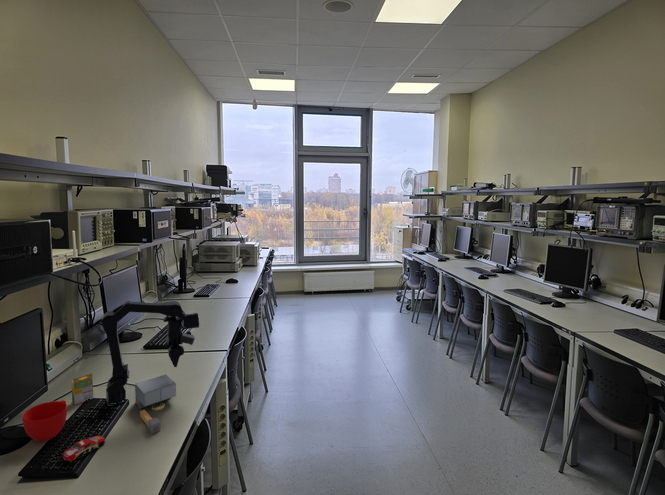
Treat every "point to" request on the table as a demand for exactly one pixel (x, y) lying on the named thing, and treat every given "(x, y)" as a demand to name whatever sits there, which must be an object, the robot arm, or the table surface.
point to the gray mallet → (150, 422)
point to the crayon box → (82, 389)
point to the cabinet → (154, 390)
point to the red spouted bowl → (45, 420)
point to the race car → (83, 447)
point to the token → (158, 406)
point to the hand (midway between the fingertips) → (174, 362)
